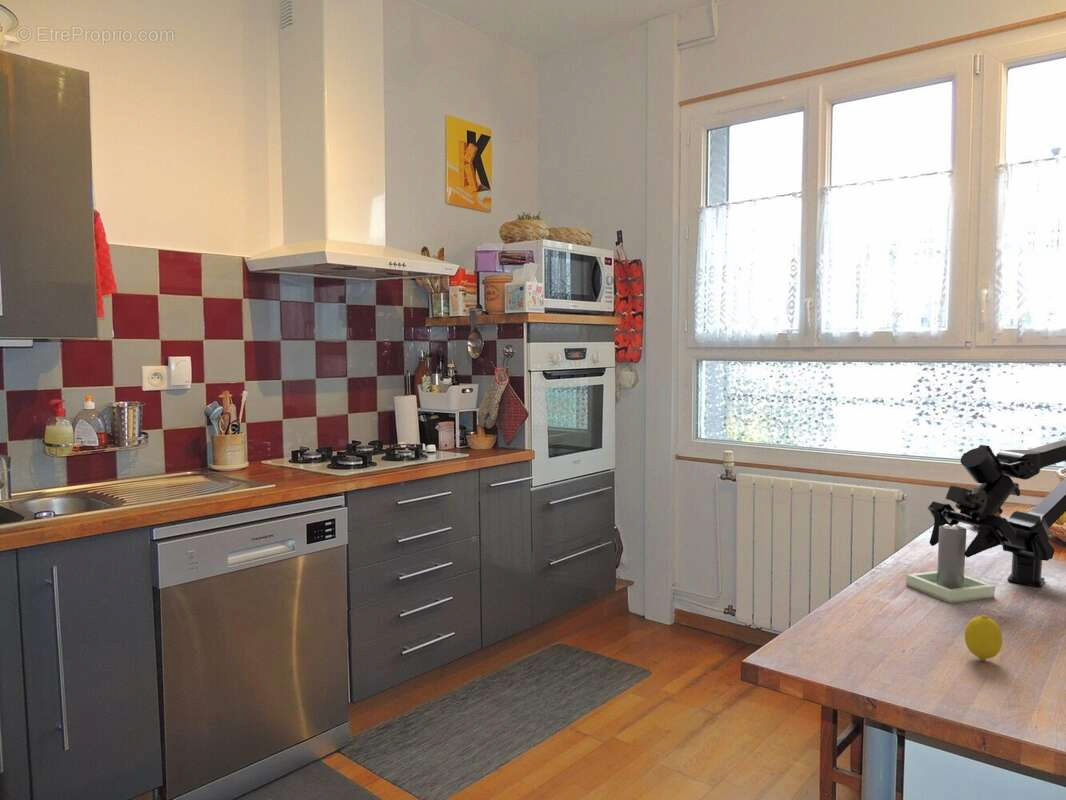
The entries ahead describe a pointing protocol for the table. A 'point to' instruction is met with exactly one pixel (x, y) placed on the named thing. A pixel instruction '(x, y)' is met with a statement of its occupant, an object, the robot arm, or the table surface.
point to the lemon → (983, 637)
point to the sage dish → (970, 591)
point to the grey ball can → (951, 556)
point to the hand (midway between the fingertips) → (947, 550)
